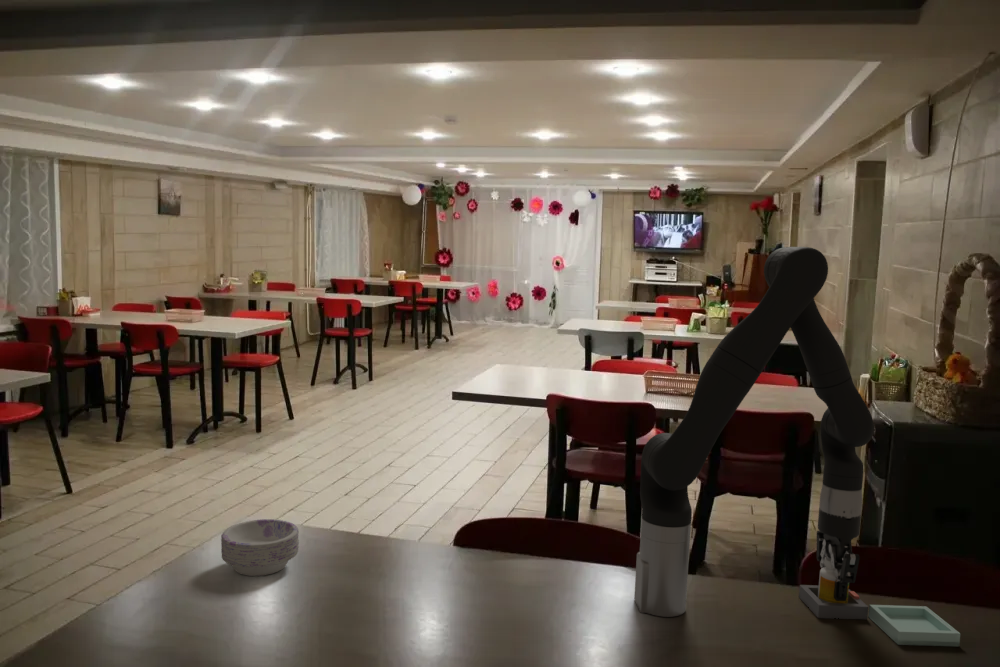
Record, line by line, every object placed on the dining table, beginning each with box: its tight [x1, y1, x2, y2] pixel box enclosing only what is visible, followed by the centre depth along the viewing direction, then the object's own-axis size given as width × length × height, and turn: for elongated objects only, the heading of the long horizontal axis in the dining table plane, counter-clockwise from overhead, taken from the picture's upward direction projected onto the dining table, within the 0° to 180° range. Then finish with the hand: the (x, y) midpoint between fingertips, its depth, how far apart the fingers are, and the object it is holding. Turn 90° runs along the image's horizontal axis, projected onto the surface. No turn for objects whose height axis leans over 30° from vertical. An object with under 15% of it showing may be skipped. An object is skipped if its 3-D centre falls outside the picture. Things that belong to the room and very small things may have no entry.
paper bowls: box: [220, 518, 300, 577], centre depth 164 cm, size 15×15×8 cm
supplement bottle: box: [818, 556, 850, 603], centre depth 156 cm, size 5×5×10 cm
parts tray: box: [867, 604, 961, 647], centre depth 147 cm, size 11×11×2 cm
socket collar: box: [798, 584, 869, 620], centre depth 156 cm, size 9×9×3 cm
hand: (833, 593), depth 156 cm, fingers closed on supplement bottle, 5 cm apart
